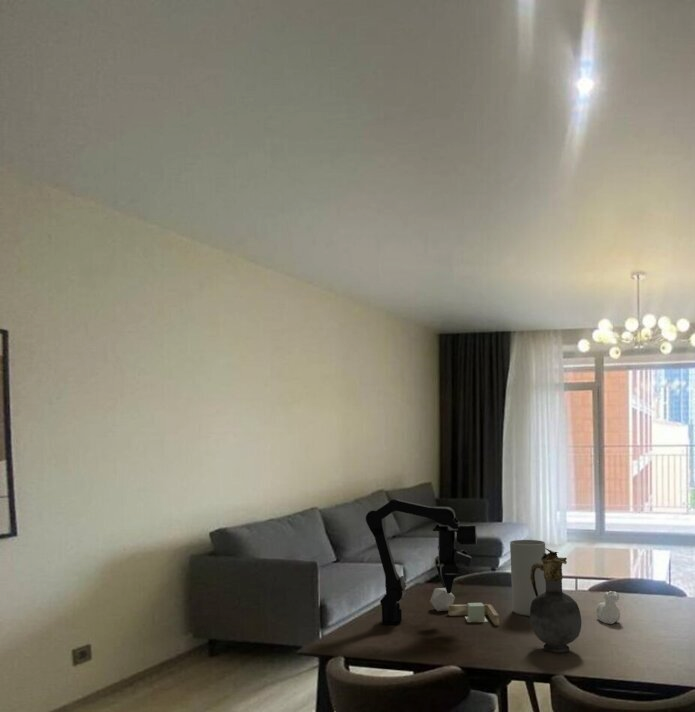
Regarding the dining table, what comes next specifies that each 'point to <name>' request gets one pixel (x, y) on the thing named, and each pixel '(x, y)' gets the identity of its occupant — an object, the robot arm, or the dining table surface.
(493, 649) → the dining table surface
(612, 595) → the white figurine
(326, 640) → the dining table surface
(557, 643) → the pitcher
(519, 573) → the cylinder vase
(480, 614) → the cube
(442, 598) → the die
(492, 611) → the wooden corner guide
